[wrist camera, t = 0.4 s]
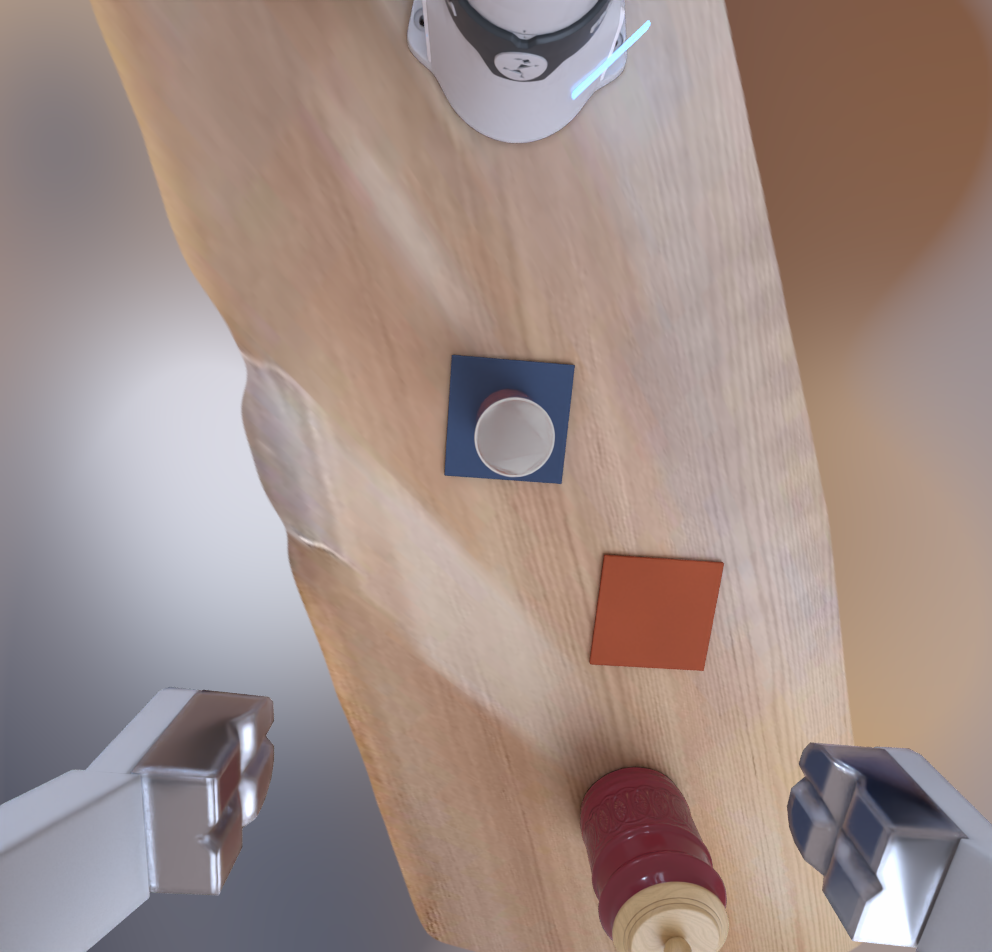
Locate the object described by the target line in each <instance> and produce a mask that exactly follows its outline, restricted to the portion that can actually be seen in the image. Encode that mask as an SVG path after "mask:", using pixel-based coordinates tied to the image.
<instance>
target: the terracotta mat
mask: <svg viewBox="0 0 992 952" xmlns="http://www.w3.org/2000/svg"><path fill="white" fill-rule="evenodd" d="M723 566H724V563H723V562H709V561H694V560H679V559H664V558H649V557H634V556H619V555H604V560H603V567H602V574H601V582H600V589H599V596H598V604H597V611H596V618H595V626H594V633H593V641H592V648H591V655H590V664H593V665H611V666H628V667H646V668H664V669H682V670H699V671H704V666H705V661H706V655H707V650H708V645H709V640H710V634H711V629H712V624H713V619H714V613H715V608H716V603H717V598H718V592H719V587H720V582H721V577H722V572H723Z"/></svg>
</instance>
